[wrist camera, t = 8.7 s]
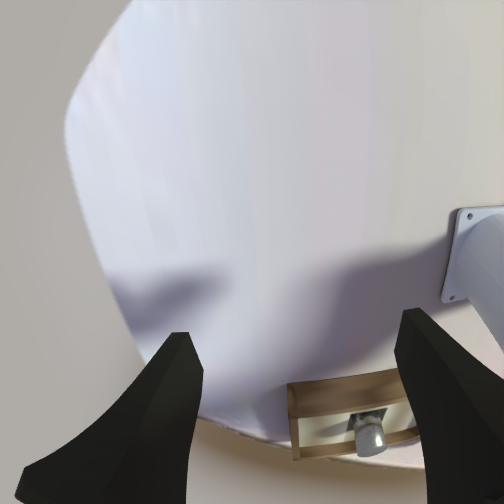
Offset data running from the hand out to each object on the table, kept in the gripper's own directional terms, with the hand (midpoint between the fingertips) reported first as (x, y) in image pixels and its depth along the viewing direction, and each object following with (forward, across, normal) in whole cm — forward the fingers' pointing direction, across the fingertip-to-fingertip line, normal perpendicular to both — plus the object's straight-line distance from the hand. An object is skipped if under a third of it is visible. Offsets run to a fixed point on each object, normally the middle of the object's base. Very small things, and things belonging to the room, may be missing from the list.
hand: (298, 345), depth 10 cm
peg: (+10, -7, +22) cm, 25 cm away
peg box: (+10, -7, +22) cm, 25 cm away
